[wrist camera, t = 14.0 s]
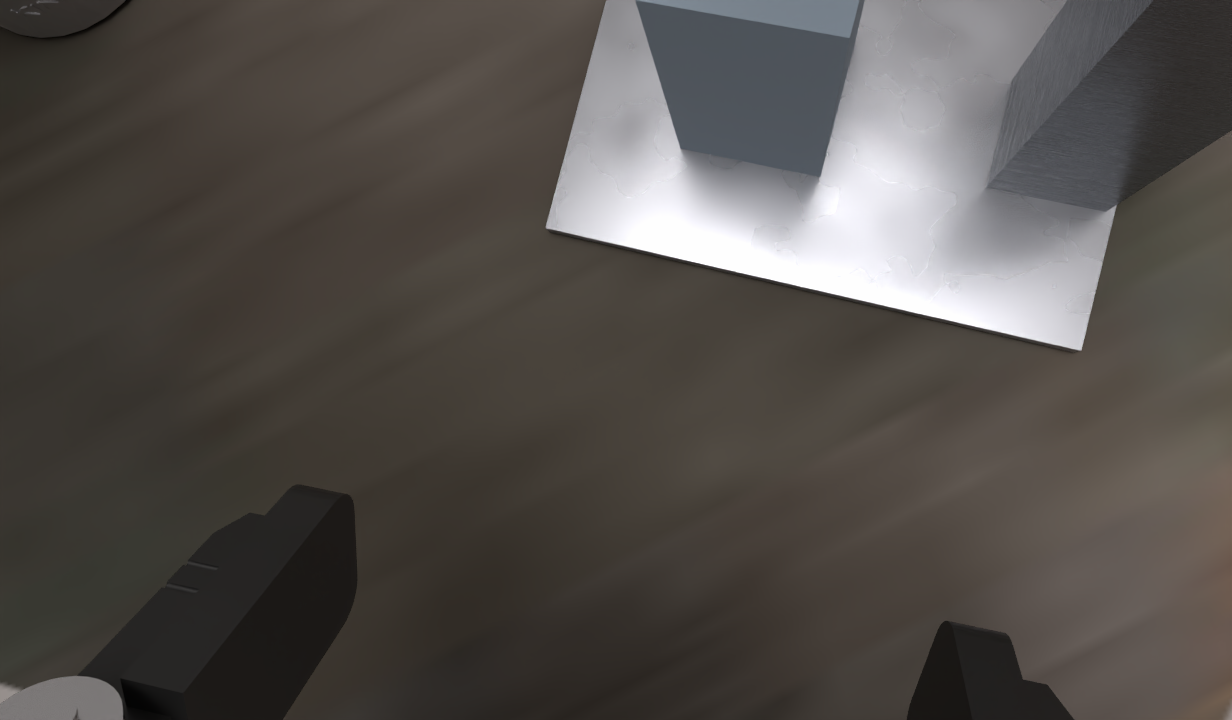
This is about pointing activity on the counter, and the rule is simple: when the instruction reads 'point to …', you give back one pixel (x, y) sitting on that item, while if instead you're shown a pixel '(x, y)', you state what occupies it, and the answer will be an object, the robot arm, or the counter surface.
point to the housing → (753, 75)
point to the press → (921, 158)
